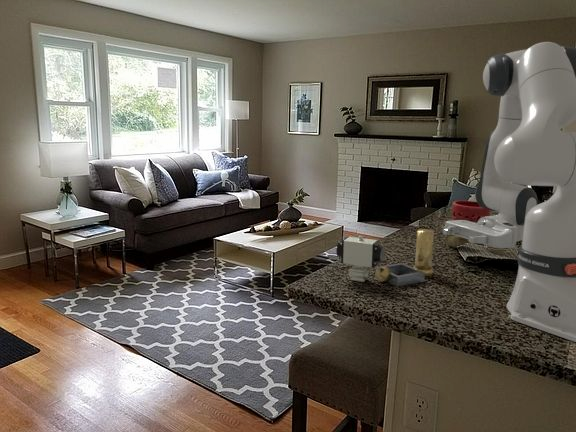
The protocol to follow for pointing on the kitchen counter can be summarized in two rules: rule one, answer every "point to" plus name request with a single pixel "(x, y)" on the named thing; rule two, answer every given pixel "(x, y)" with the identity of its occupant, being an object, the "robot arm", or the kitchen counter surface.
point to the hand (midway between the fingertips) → (457, 236)
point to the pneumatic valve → (360, 256)
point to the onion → (454, 240)
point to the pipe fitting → (424, 251)
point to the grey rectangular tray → (390, 275)
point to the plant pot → (468, 211)
